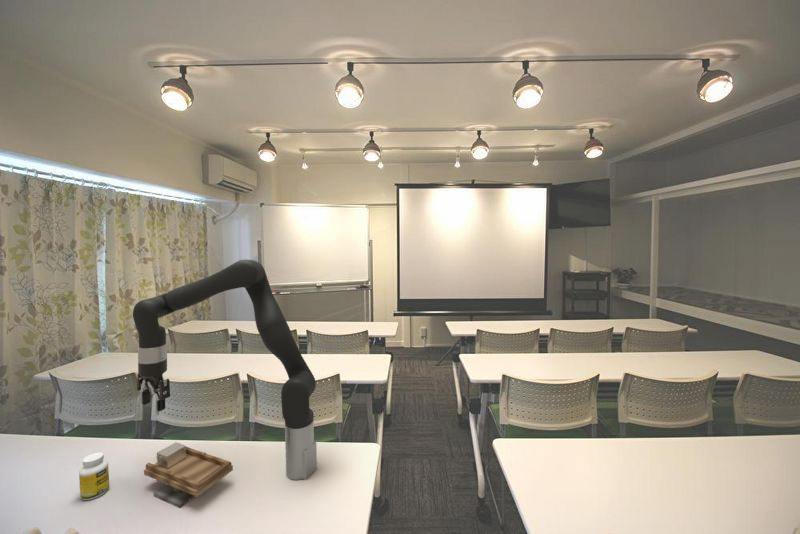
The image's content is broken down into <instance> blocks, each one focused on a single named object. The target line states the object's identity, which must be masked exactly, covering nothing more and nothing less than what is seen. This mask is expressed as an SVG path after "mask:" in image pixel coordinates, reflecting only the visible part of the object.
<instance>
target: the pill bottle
mask: <svg viewBox="0 0 800 534" xmlns="http://www.w3.org/2000/svg"><path fill="white" fill-rule="evenodd" d="M82 465H83V466H82V467H81V468H80V470H79V471H78V473H79V476H78V477H79V493H80V496H79V497H80V499H81V500H82V501H91V500H93V499H97V498H99V497H101V496H102V495H104V494H105V493H106V492H107V491H108V490H109V488H110V476H109V475H110V474H109V461H108V460H107V459H105V455H104V452H95V453H91V454H89V455H86V456H85V457H84V458H83V459H82Z"/></svg>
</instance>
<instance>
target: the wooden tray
mask: <svg viewBox="0 0 800 534" xmlns="http://www.w3.org/2000/svg"><path fill="white" fill-rule="evenodd" d="M232 471H234V466H233V465H232V461H230V460H227V459H224V458H220V457H218V456H214V455H212V454H209V453H207V452H205V451H200V450H198V449H194V448H191V447H190V446H189V447H188V446H186V458H184V459H183V460H181V461H180V462H178V463H176V464H175V465H173V466H171V467H170V468H168V469H167V468H164V467H162V466H159V465H157V462H156V463H151V462H147V463H146V464H145V469H144V470H143V474H144V476H146V477H149V478H152V479H154V480H156V481H158V482H160V483H162V484H165V485H163V487H160V488H159V489H157V490H156V491H155V492H153V497H155V498H157V499H160V500H162V501H163V502H165V503H168V504H170V505H173V506H174V507H177V508H179V509H181V508H183V507H184V506H185V505H186V504H188V503H189V502H190V501H192V500H193V499H195V498H196V497H197V498H198V497H199V496H201V495H202V494H203V493H204V492H206V491H207V490H209V489H210V488H211V487H212V486H214V485H215V484H216V483H218V482H219V481H221V480H222V479H223V478H224V477H226V476H227V475H228V474H230V473H231V472H232Z"/></svg>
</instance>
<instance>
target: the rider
mask: <svg viewBox="0 0 800 534" xmlns="http://www.w3.org/2000/svg"><path fill="white" fill-rule="evenodd" d="M186 447H187V445H185V444H182V443H179V442H177V441H175V442H174V443H172V444H169V446H167V447H165V448H163V449H161V450H159V451H158V452H156V461H157V462H156V463H157V465H159V466H162V467H164V468H167V469H168V468H170V467H171V466H173V465H175V464H176V463H178V462H180V461H181V460H183V459H184V458H186Z"/></svg>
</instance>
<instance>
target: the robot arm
mask: <svg viewBox="0 0 800 534" xmlns="http://www.w3.org/2000/svg"><path fill="white" fill-rule="evenodd" d="M241 288H244V289H245V291H246V293H247V294H248V296H249V298H250V300H251V303H252V306H253V313H254V319H255V320H254V321H255V326H256V329H257V331H258V334H259V336H260V338H261V340H262V343H263V344H264V346H265V347H266V349H267V350H268V351H269V352H270V353H271V354H273V356H274V357H276V358H277V359H278V360H279V361H280V363H281V364H282V366H283V368H284V369H285V372H286V374H287V376H288V380H286V381H285V382H284V383H283V386H282V387H281V395H280V396H281V397H280V398H281V399H280V400H281V401H280V402H281V412H282V413H281V414H282V417H283V419H284V438H285V439H284V441H285V443H284V444H285V448H284V449H285V476H286V477H287V478H288V479H290V480H296V481H298V480H307V479H308V478H309V477H310V476H311V475H312V473H314V472H315V471H316V470H317V468H318V462H317V461H318V457H317V455H318V454H317V447H318V446H317V441H315V431H314V428H315V427H314V426H315V425H314V424H315V423H314V420H315V419H314V416H315V415H314V411H313V410H312V409H311V408H310V398H311V396H312V395H313V394H314V391H315V389H316V386H317V383H316V378H315V376H314V374H313V372H312V370H311V369H310V367H309V366H308V364H307V362H306V360H305V359H304V357H303V355H302V353H301V352H300V349H299V347H298V345H297V342H296V340H295V338H294V336H293V333H292V331H291V328H290V326H289V323H288V321H287V320H286V318H285V316H284V314H283V311H282V310H281V308H280V306H279V303H278V301H277V300H276V298H275V296H274V294H273V291H272V288H271V286H270V282H269V279H268V276H267V273H266V269H265V268H264V266H263V265H262V264H261V263H260V262H258V261H257V260H253V259H239V260H238V261H236V262H234V263H231V264H230V265H229V266H227V267H225V268H223V269H221V270H220V271H218V272H215V273H213V274H211V275H209V276H206V277H204V278H202V279H198V280H196V281H194V282H193V281H192V282H190V283H187V284H185V285H182V286H178V287H176V288H174V289H173V288H172V289H171V290H169V291H168V292H166V293H163V294H160V295H157V296H153V297H149V298H146V299H142V300H140V301H138V302H136V303H135V305H134V307H133V309H132V318H133V319H132V320H133V322H134V326H135V328H136V331H137V333H138V351H137V375H136V377H137V378H136V390H137V391H139V392H140V395H141V405H143V406H144V405H146V406H147V405H148V404H150V403H151V394H152V395H153V396H155V399H156V411H157V412H162V411H164V410H165V409H166V399H167V398H170V397H171V387H170V381H171V380H170V379H169V378H166V379H164V376H163V375H164V374H165V373H166V372H168V348H167V332H166V331H167V330H166V328H165V327H163V326H161V325H160V324H159V319H160V318H163V317H165V316H169V315H170V314H172V313H174V312H177V311H180V310H184V309H186V308H189V307H191V306H195V305H197V304H200V303H202V302H204V301H205V300H208V299H210V298H212V297H213V296H216V295H218V294H221V293H223V292H226V291H230V290H234V289H241Z"/></svg>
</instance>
